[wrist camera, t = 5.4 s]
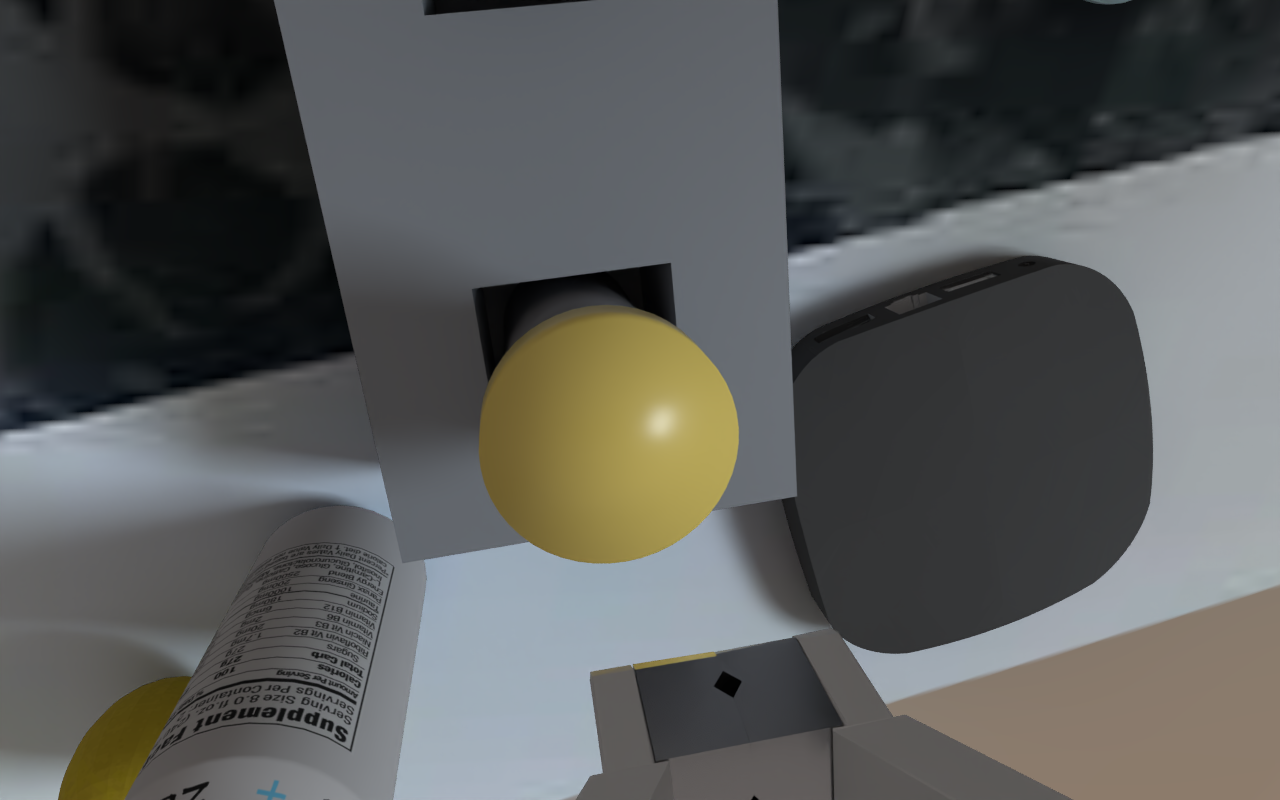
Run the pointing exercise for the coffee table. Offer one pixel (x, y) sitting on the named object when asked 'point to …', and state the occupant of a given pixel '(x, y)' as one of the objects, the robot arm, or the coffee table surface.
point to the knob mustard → (602, 424)
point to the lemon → (121, 742)
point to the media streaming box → (968, 452)
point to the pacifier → (1107, 1)
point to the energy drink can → (301, 673)
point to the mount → (543, 210)
